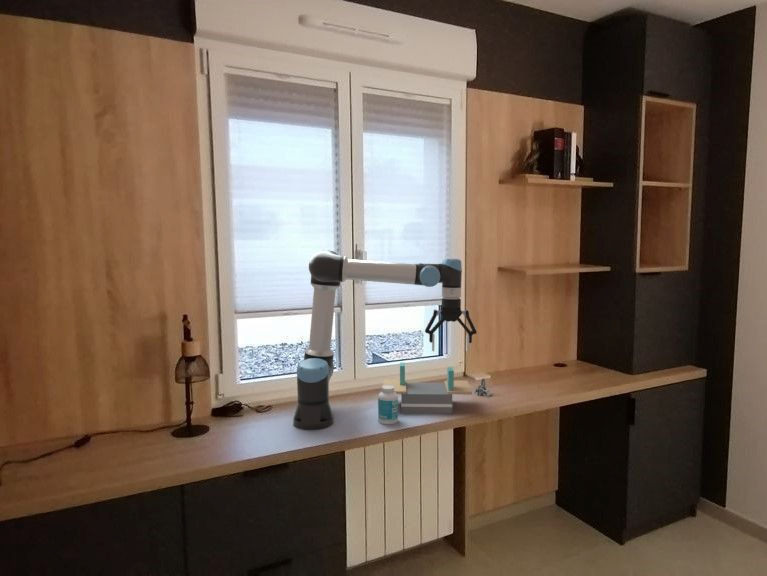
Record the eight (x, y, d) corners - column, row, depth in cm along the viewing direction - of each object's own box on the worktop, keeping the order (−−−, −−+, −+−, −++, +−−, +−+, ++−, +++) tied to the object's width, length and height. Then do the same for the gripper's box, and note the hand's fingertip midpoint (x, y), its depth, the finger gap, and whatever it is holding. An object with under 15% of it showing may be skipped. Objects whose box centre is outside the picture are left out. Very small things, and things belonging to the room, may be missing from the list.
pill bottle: (395, 426, 187) (395, 390, 186) (376, 424, 189) (376, 389, 188) (399, 419, 195) (399, 384, 193) (380, 417, 196) (380, 383, 195)
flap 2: (447, 394, 199) (447, 371, 198) (444, 382, 215) (444, 361, 214) (472, 394, 199) (472, 372, 198) (467, 382, 214) (467, 362, 214)
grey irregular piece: (464, 395, 224) (464, 378, 224) (477, 391, 230) (477, 375, 229) (479, 400, 217) (480, 383, 217) (492, 396, 223) (493, 379, 222)
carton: (401, 413, 200) (401, 394, 200) (401, 400, 216) (401, 382, 216) (452, 414, 200) (452, 394, 199) (448, 401, 216) (448, 382, 215)
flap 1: (381, 393, 200) (381, 371, 199) (383, 382, 216) (383, 361, 215) (406, 393, 200) (406, 371, 199) (406, 382, 216) (406, 361, 215)
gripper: (419, 298, 196) (419, 352, 198) (484, 299, 195) (483, 353, 197) (419, 296, 204) (418, 348, 206) (481, 297, 203) (480, 349, 205)
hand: (450, 350), depth 202 cm, fingers open, 13 cm apart
